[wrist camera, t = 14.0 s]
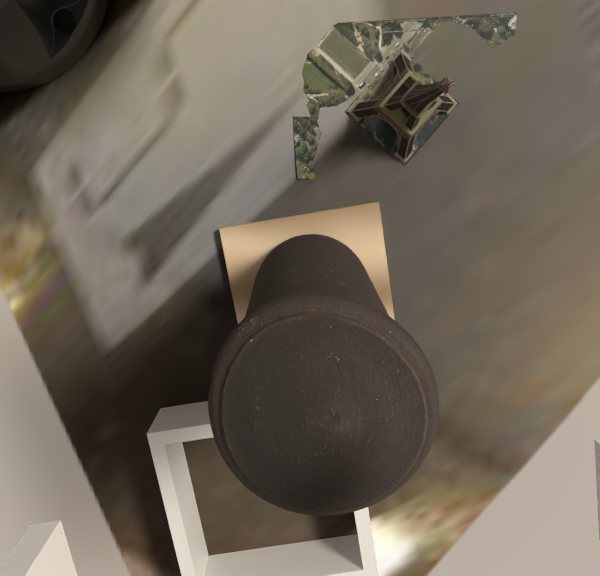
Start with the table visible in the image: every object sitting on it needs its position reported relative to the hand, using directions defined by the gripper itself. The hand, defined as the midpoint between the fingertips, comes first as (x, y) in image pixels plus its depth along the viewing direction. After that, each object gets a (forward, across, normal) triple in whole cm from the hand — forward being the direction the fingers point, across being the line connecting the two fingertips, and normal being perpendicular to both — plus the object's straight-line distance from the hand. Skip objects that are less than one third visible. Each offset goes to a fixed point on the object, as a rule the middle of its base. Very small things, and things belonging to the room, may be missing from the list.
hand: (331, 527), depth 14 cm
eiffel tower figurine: (+28, +8, +11) cm, 31 cm away
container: (+26, 0, -1) cm, 26 cm away
